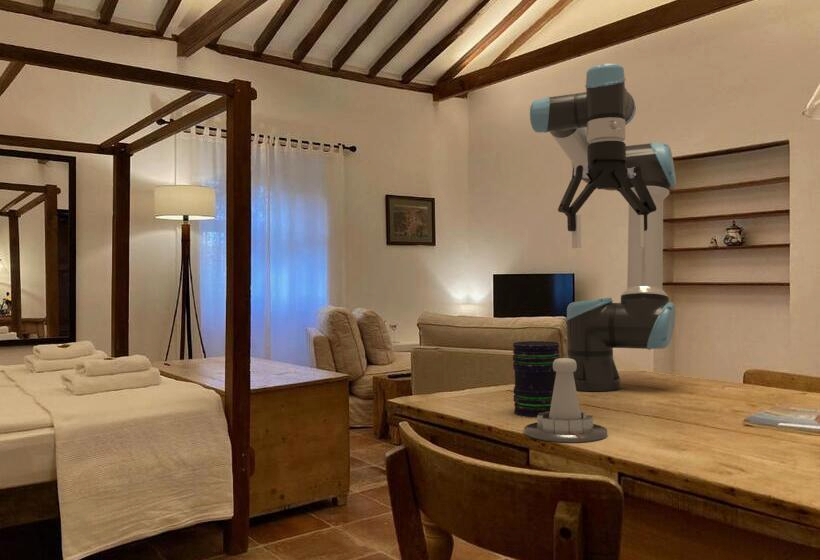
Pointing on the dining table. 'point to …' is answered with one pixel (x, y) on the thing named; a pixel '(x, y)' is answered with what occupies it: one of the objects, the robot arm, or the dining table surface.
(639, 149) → the robot arm
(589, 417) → the socket
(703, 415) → the dining table surface
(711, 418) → the dining table surface
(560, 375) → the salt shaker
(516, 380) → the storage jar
